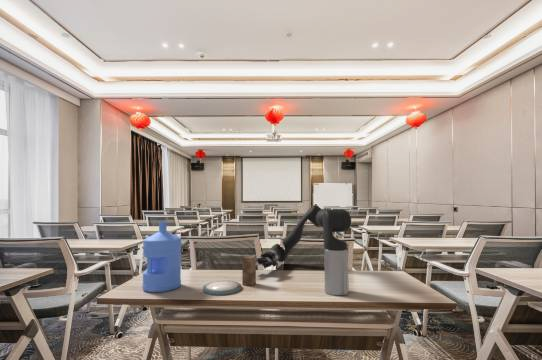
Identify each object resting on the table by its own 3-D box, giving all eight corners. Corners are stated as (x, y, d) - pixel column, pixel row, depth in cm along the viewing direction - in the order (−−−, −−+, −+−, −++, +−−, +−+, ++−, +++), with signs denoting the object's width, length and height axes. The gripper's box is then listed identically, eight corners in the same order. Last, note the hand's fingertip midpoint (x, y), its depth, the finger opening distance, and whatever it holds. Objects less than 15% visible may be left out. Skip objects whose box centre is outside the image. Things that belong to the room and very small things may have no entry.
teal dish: (247, 285, 130) (247, 282, 130) (230, 297, 115) (230, 293, 115) (215, 282, 136) (215, 279, 136) (194, 292, 121) (194, 289, 121)
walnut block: (255, 283, 134) (255, 256, 134) (251, 286, 129) (251, 258, 130) (246, 282, 135) (246, 255, 136) (242, 285, 131) (242, 257, 132)
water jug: (164, 280, 139) (165, 220, 141) (188, 285, 131) (189, 221, 133) (134, 289, 126) (135, 222, 128) (158, 295, 118) (159, 224, 120)
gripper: (256, 250, 160) (243, 255, 144) (282, 251, 155) (271, 257, 140) (256, 264, 159) (243, 271, 144) (282, 266, 154) (271, 273, 139)
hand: (257, 264), depth 142 cm, fingers open, 8 cm apart
